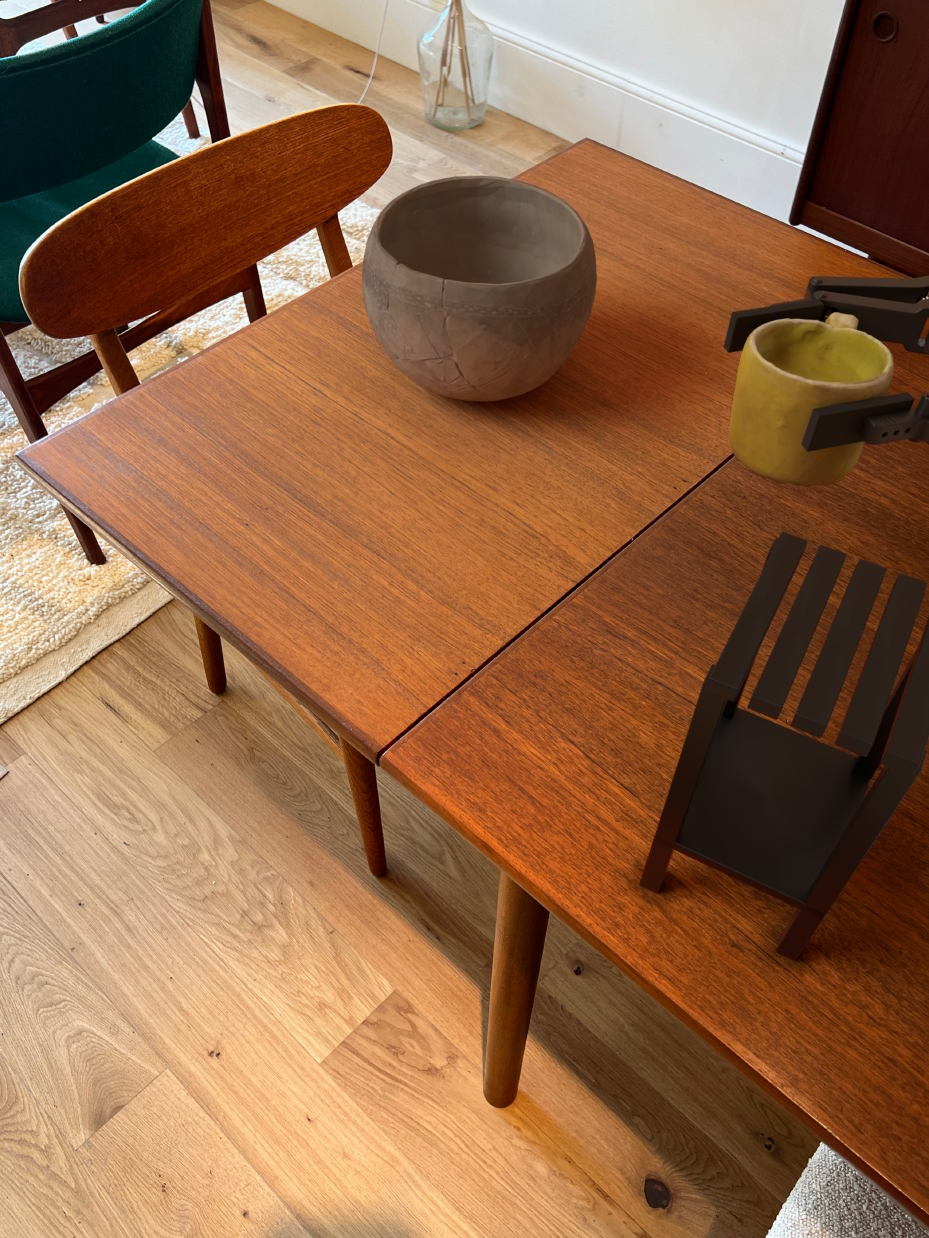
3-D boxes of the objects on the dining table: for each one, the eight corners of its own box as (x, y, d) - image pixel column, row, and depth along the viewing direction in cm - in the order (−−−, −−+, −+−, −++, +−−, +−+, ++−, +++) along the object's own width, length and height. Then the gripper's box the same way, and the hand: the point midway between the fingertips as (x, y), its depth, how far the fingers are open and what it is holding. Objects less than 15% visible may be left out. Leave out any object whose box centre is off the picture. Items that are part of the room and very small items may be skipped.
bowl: (591, 442, 89) (612, 289, 77) (359, 437, 89) (346, 284, 78) (578, 313, 103) (594, 167, 91) (377, 308, 103) (368, 163, 91)
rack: (844, 817, 64) (974, 598, 48) (794, 963, 58) (925, 766, 42) (700, 754, 67) (778, 529, 51) (637, 886, 61) (704, 675, 45)
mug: (843, 514, 62) (859, 352, 57) (698, 485, 68) (700, 338, 63) (920, 455, 69) (939, 308, 65) (782, 434, 76) (791, 299, 71)
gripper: (1148, 477, 64) (841, 540, 60) (942, 293, 78) (683, 333, 74) (1216, 379, 58) (883, 441, 54) (981, 200, 73) (703, 238, 68)
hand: (767, 379), depth 64 cm, fingers closed on mug, 10 cm apart
